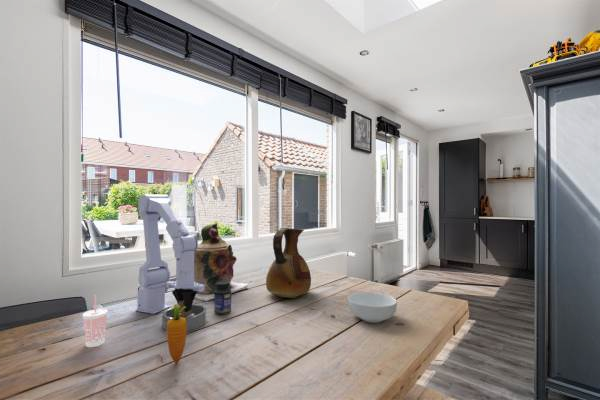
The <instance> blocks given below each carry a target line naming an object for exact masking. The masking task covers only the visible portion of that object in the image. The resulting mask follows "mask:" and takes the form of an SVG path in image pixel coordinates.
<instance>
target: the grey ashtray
mask: <svg viewBox="0 0 600 400" xmlns="http://www.w3.org/2000/svg"><path fill="white" fill-rule="evenodd" d="M173 307H174V306H172V307H169V308H167V309H164V312H162V317H161V318H162V319H161V322H162V328H163V329H164V330H165V331H167V321H168V320H170V319H172V318H174V316H173V314H172V310H171V308H173ZM207 311H208V309H207V307H206V306H204V305H202V304H197V303H196V304H195V303H192V307H191V315H189V316H187V317H185V319H186V323H187V330H186V332H187V331H192V330H195V329H199V328H200V327H202V326H204V325H205V324H206V322H207V313H208V312H207ZM177 315H178V314H177Z"/></svg>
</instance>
